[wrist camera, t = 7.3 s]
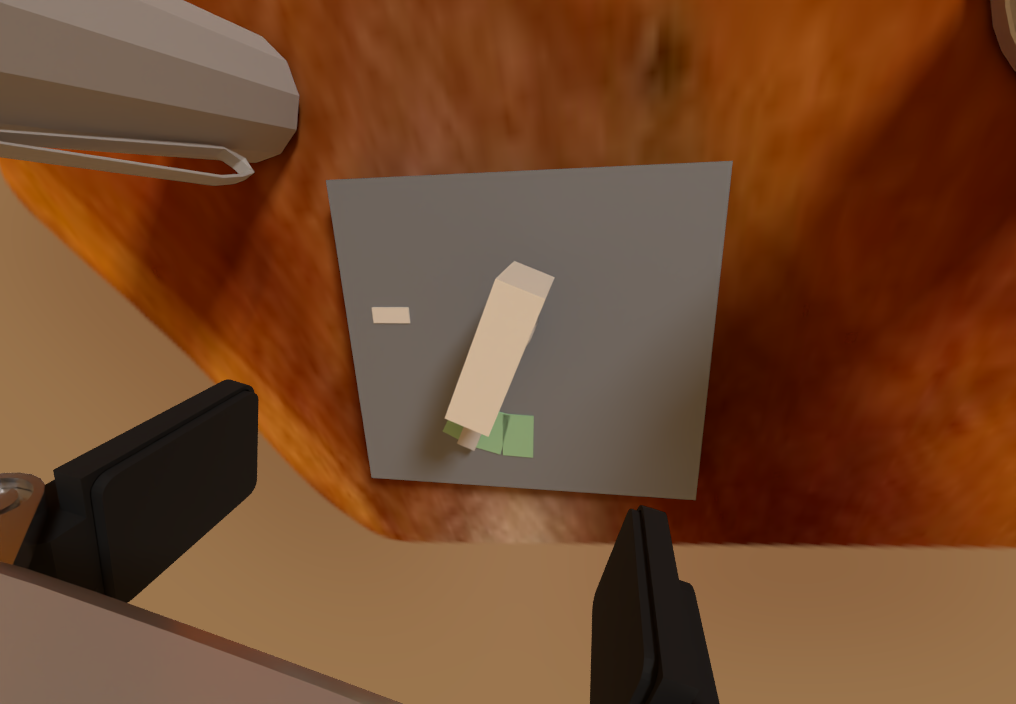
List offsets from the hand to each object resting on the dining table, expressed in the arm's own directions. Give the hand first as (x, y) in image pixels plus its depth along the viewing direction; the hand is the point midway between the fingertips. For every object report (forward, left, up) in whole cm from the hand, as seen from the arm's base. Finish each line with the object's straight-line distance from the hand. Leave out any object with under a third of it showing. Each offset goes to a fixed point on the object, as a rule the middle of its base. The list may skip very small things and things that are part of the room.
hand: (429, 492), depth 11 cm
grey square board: (0, +2, -20) cm, 20 cm away
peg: (+1, +3, -18) cm, 18 cm away
